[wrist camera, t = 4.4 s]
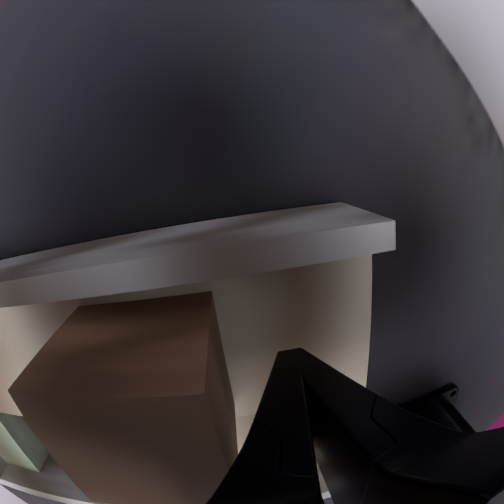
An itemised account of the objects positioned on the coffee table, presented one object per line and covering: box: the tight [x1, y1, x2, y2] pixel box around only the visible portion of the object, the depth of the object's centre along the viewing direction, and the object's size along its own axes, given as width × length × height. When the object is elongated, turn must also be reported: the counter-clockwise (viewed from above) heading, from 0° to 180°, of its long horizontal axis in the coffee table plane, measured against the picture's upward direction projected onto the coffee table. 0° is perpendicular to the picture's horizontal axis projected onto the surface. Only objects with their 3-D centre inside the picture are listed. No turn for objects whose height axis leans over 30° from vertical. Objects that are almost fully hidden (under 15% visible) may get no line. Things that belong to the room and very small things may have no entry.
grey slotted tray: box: [0, 202, 396, 504], centre depth 11 cm, size 22×13×4 cm, turn 97°
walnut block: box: [8, 291, 238, 504], centre depth 7 cm, size 4×4×4 cm
